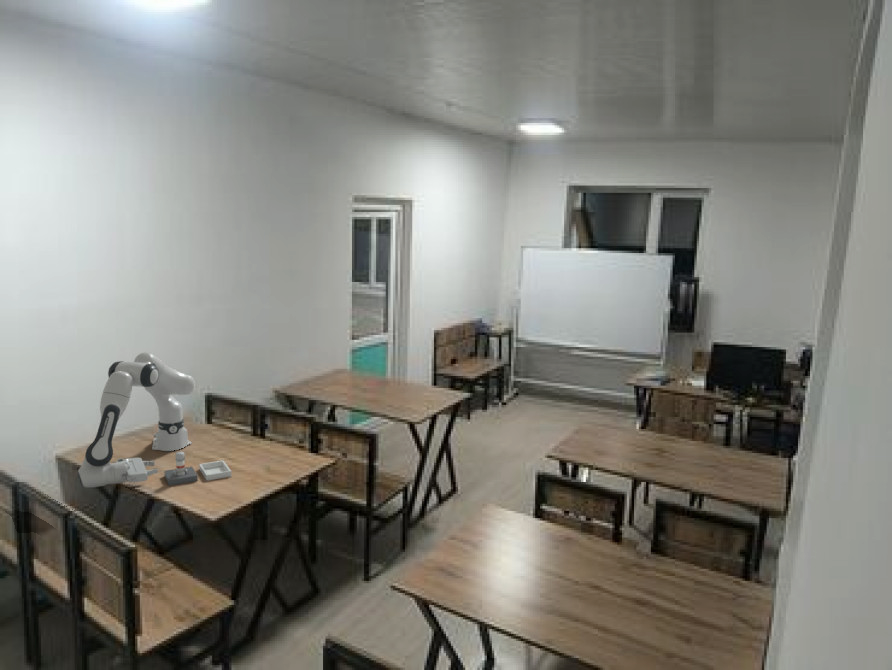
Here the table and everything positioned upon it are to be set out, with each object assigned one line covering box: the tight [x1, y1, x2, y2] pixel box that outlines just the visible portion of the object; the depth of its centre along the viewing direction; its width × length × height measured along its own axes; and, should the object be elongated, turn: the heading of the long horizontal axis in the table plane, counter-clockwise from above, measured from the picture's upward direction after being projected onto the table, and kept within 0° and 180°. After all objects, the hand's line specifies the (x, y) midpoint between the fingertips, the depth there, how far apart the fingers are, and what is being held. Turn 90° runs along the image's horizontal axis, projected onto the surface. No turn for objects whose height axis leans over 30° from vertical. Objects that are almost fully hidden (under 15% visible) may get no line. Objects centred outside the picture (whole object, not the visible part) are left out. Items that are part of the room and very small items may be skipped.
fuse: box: [174, 451, 186, 476], centre depth 294 cm, size 4×4×12 cm
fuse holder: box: [163, 466, 199, 487], centre depth 295 cm, size 12×12×5 cm
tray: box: [198, 460, 232, 482], centre depth 303 cm, size 15×11×4 cm
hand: (155, 466), depth 289 cm, fingers open, 8 cm apart
